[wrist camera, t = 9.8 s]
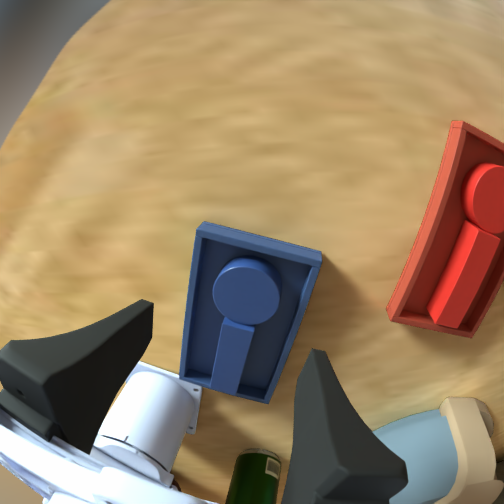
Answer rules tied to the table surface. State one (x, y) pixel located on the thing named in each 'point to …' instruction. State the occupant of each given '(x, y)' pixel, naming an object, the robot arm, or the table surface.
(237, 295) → the blue spoon
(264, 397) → the blue tray
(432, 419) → the alarm clock
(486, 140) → the red tray
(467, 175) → the red spoon
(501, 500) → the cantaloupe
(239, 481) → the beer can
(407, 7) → the table surface
